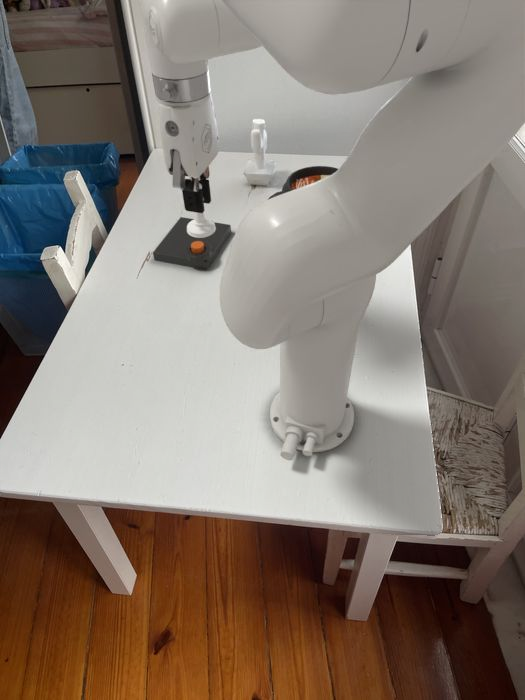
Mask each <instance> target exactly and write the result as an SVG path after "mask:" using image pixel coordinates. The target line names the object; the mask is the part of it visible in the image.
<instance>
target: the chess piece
mask: <svg viewBox="0 0 525 700" xmlns="http://www.w3.org/2000/svg"><path fill="white" fill-rule="evenodd" d="M188 179H190V180H191V181H192V178H190V177H188ZM198 180H200V177H198ZM199 189H202V185H201V184H200V183H199ZM203 201H204V198H203ZM193 219H194V220H192V221H190V222H189V223H188V225H187V233H188V234H189V235H190V236H192V237H196V238H203V237H207V236H210V235H212V234H213V233H214V232H215V230H216V226H215V223H216V222H215V223H214V221H213V220H212V219H210V218H206V217H205V214H204V212H203V213H197V212H194V218H193Z"/></svg>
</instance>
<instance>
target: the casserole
mask: <svg viewBox="0 0 525 700" xmlns="http://www.w3.org/2000/svg"><path fill="white" fill-rule="evenodd" d="M338 169H339V168H338V167H334V166H333V167H332V166H327V165H312V166H307V167H302V168H300V169H297V170H295V171H293V172H291V173H290V174H289V175H288V177H287V178H286V181H285V183H284V184H283V185H282V188H281V191H276V192H275V193H273V194H272V195H270V196H269V197H268V199H271V198H273V197H276V196H278V195H281V194H284V193H286V192H289V191H292V190H295V189H298V188H301V187H303V186H306V185H309V184H312V183H314V182H317V181H319V180H322V179H324V178H326V177H328V176H330V175H332V174H333V173H335V172H336V171H337V170H338Z"/></svg>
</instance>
